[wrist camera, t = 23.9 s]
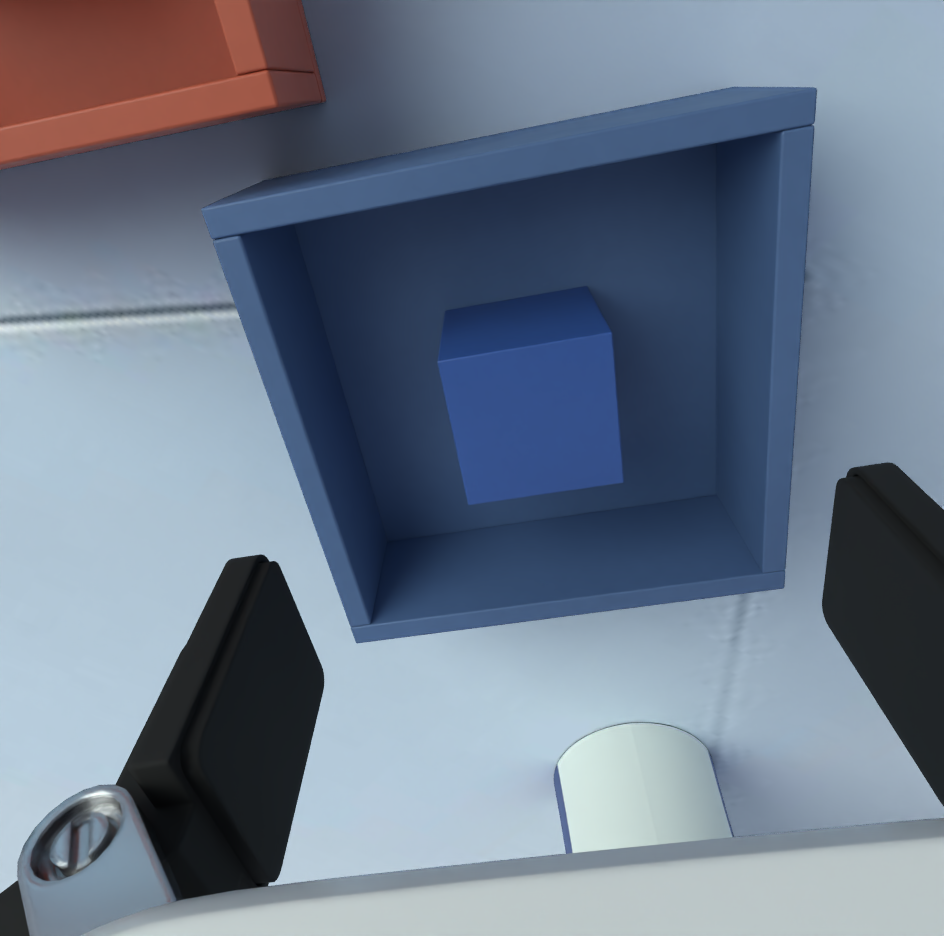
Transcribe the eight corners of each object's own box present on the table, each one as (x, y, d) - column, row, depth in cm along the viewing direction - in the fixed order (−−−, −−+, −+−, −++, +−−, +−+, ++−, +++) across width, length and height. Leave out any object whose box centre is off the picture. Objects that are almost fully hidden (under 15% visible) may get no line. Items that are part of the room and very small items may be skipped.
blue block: (444, 310, 21) (436, 361, 17) (587, 285, 20) (612, 331, 16) (469, 435, 23) (468, 506, 19) (599, 415, 22) (624, 483, 19)
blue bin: (263, 180, 19) (199, 208, 15) (735, 86, 18) (818, 86, 14) (376, 548, 26) (355, 644, 22) (730, 498, 25) (785, 589, 20)
